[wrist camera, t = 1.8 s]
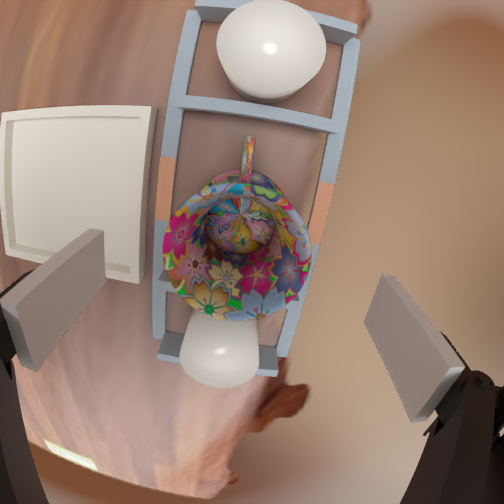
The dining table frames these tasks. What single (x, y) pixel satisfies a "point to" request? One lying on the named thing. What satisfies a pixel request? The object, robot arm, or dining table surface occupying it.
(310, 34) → the white glossy dome
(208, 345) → the white rounded egg
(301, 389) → the dining table surface
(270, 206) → the mug
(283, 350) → the rack
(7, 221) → the tray
